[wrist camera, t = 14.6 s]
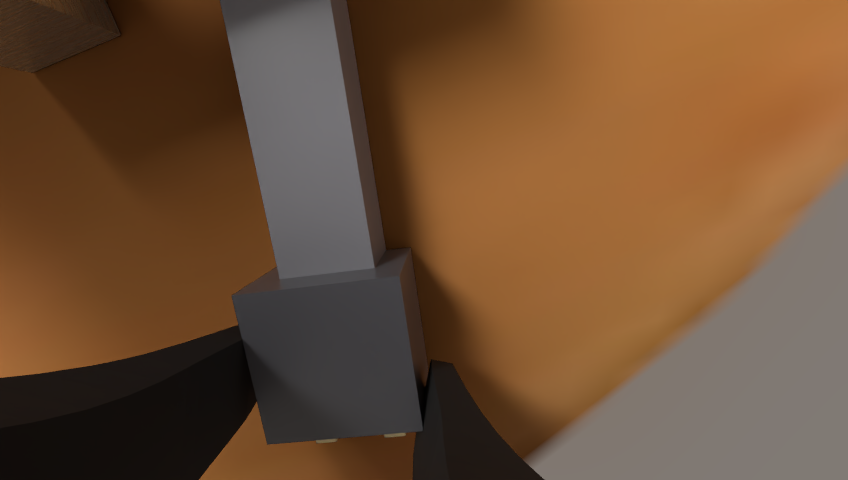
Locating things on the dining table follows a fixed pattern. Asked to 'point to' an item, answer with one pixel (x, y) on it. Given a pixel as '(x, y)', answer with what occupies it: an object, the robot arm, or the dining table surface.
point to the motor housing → (51, 30)
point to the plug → (321, 237)
